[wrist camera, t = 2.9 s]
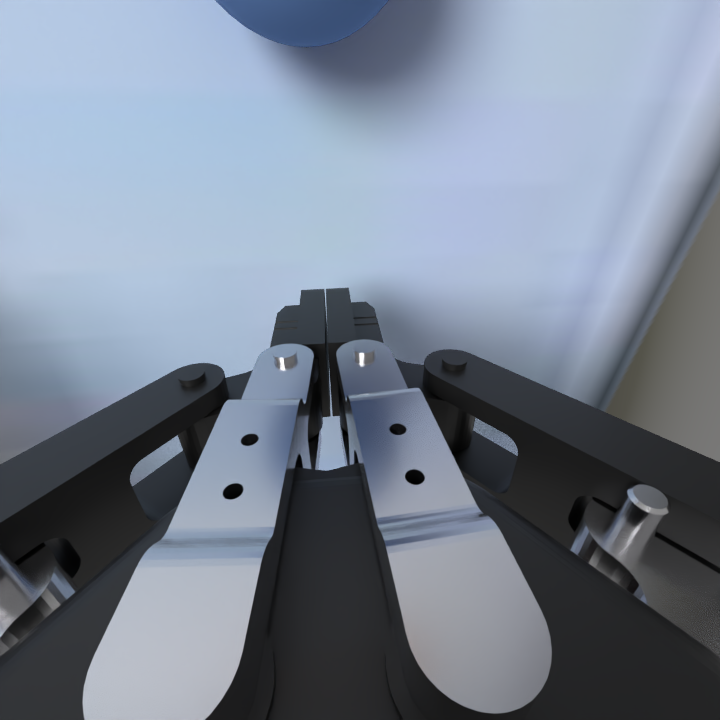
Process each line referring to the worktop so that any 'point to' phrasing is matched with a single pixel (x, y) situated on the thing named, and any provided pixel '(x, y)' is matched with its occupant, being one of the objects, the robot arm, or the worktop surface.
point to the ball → (303, 18)
